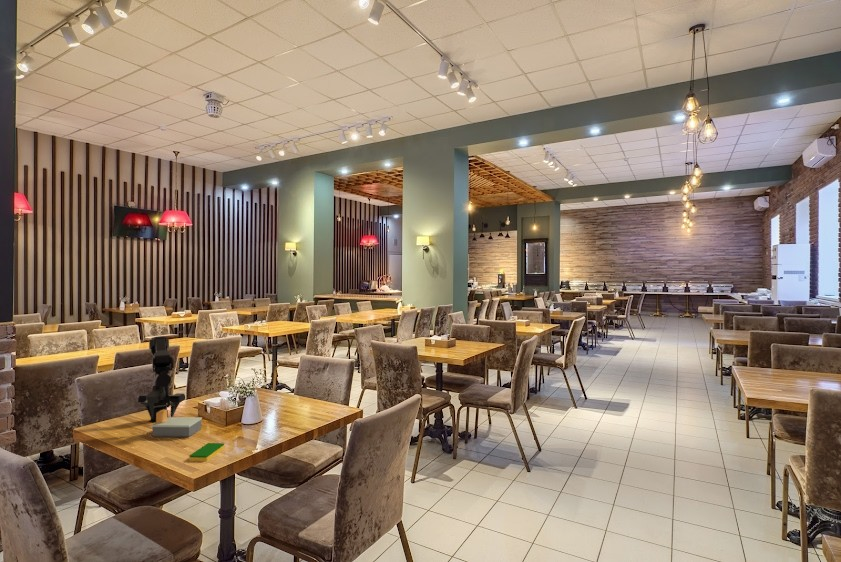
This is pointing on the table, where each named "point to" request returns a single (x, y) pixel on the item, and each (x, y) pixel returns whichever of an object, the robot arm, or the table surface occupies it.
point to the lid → (174, 420)
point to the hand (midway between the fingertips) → (161, 416)
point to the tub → (176, 431)
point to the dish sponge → (206, 452)
